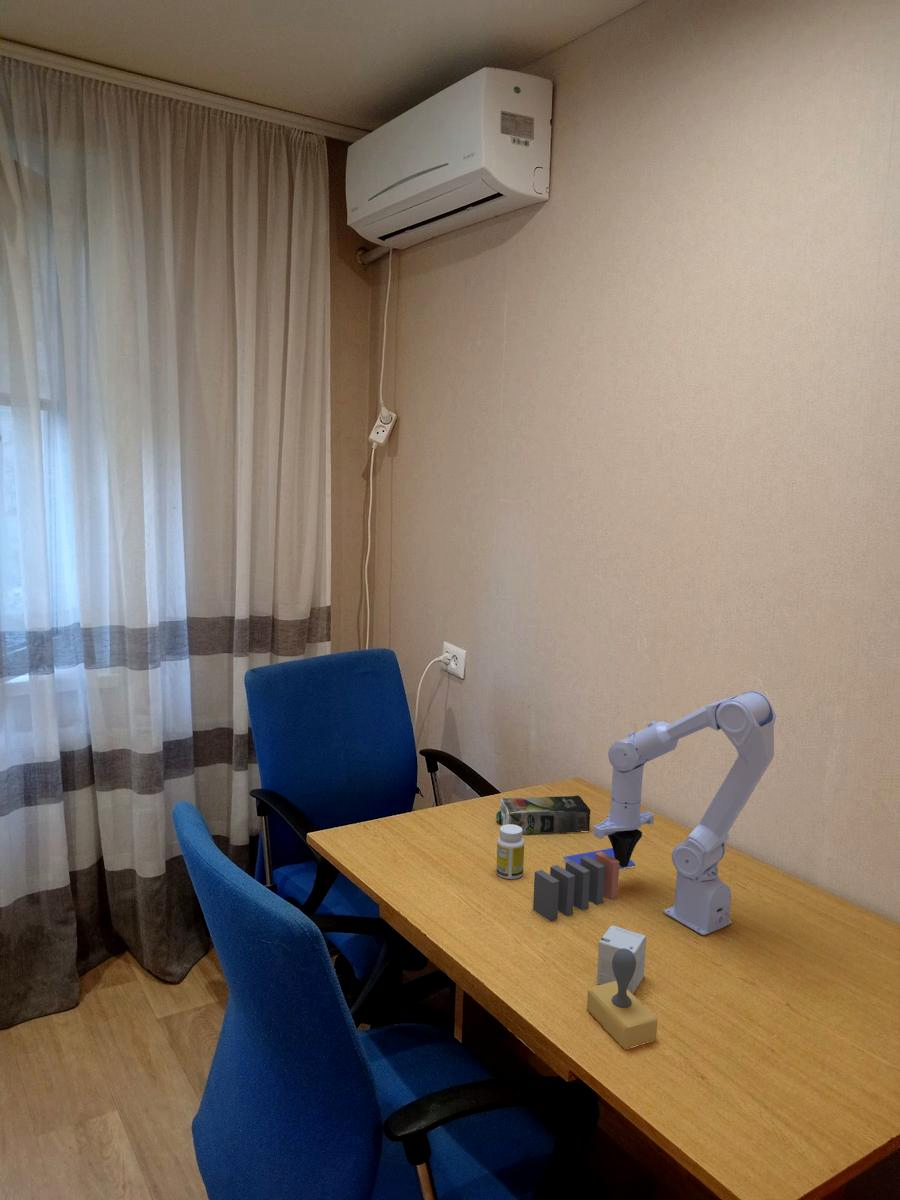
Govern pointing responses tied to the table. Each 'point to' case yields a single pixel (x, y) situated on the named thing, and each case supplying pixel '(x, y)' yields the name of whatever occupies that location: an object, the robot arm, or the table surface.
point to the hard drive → (609, 852)
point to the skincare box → (612, 943)
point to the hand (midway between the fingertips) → (621, 864)
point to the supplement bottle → (510, 852)
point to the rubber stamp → (622, 1005)
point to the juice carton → (545, 814)
